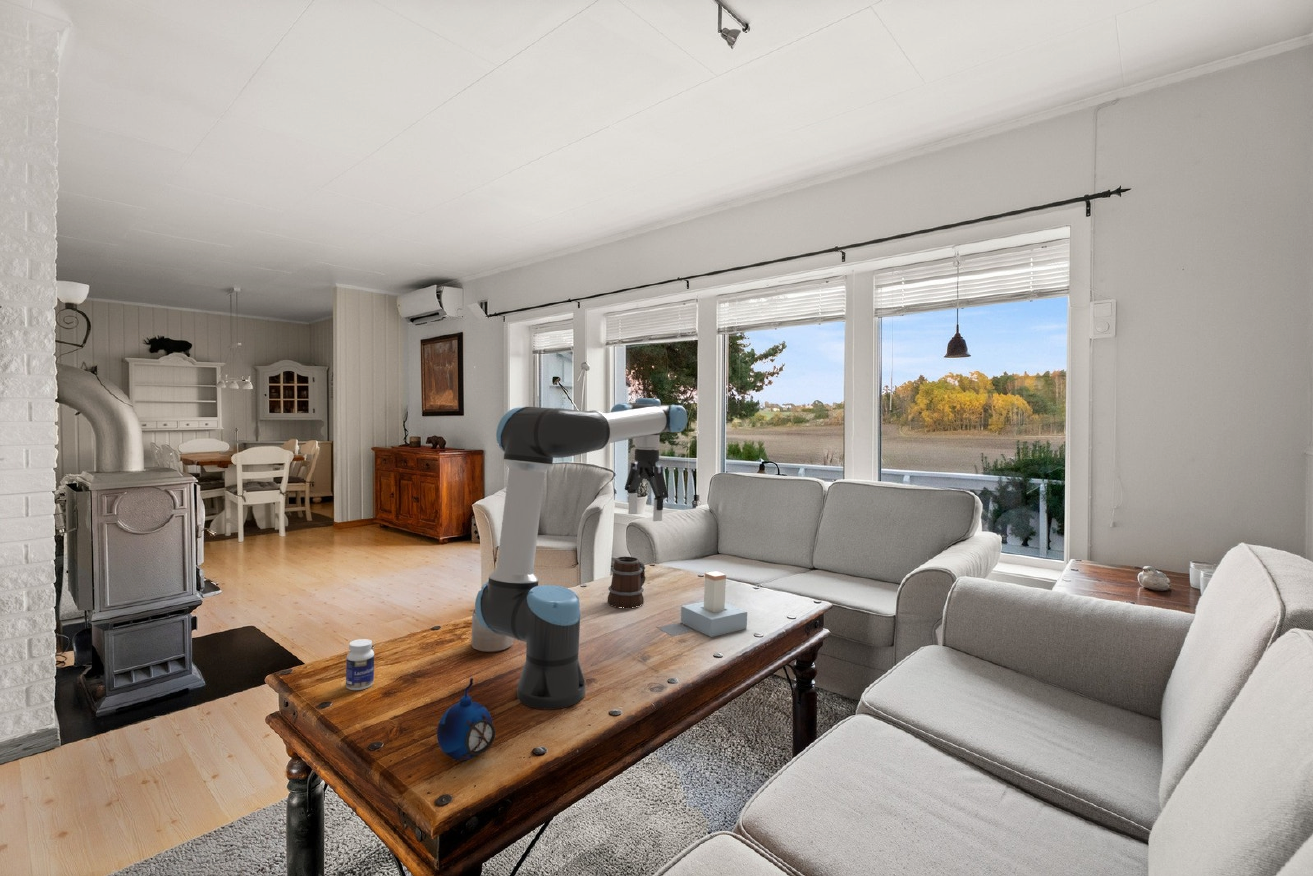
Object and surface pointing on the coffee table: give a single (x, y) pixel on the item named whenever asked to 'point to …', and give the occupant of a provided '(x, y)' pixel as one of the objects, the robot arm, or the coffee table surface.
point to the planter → (487, 638)
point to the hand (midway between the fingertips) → (644, 517)
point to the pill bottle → (360, 665)
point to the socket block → (713, 619)
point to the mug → (627, 583)
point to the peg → (714, 592)
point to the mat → (675, 629)
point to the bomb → (465, 729)
